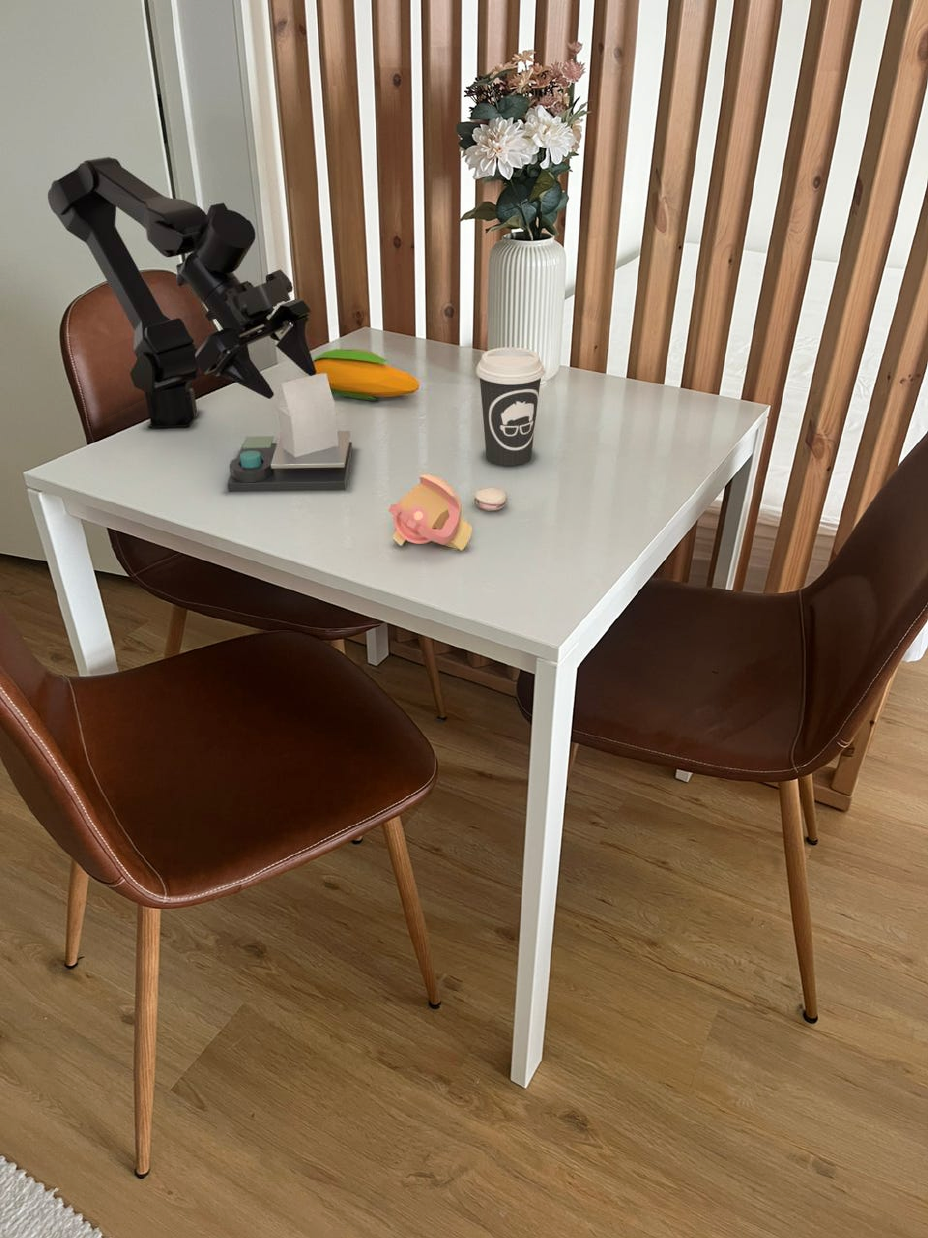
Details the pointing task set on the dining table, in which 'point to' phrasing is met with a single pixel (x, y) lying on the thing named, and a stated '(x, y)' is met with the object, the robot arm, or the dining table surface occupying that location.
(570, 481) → the dining table surface
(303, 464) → the scale pan
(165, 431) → the dining table surface
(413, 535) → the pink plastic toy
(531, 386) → the coffee cup
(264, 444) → the scale display
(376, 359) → the corn
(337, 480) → the scale
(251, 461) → the button
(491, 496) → the macaroon
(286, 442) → the tea bag
